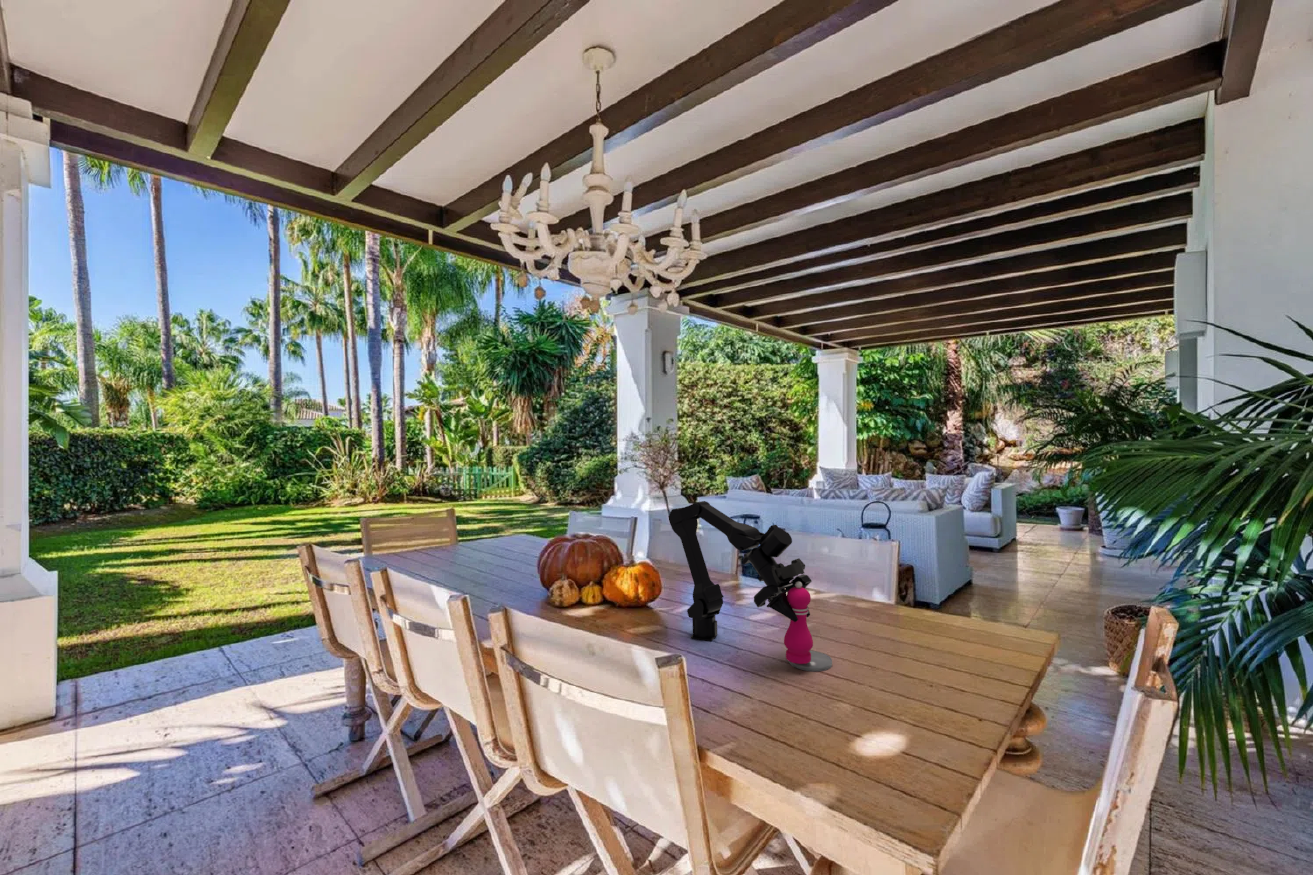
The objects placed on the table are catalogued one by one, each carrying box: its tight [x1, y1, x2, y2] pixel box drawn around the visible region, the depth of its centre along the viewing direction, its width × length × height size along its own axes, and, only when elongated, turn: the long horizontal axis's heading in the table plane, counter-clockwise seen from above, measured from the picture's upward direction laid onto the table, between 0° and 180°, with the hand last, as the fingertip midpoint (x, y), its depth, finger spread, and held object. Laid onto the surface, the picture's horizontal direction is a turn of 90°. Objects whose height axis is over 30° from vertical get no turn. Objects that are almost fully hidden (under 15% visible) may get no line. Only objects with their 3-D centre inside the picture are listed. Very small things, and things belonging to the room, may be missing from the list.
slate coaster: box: [788, 649, 833, 673], centre depth 152 cm, size 11×11×1 cm
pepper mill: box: [783, 581, 814, 664], centre depth 148 cm, size 7×7×20 cm
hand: (802, 618), depth 147 cm, fingers closed on pepper mill, 5 cm apart
